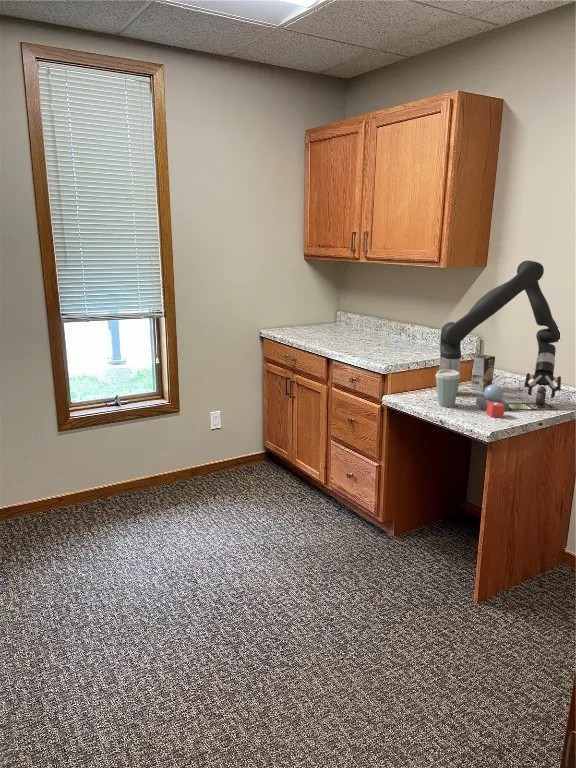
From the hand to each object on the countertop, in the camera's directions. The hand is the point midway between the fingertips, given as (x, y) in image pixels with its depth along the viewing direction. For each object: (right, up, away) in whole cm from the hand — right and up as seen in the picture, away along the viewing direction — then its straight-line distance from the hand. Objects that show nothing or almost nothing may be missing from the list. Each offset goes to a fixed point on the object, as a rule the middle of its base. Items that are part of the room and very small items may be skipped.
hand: (541, 396), depth 242 cm
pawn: (0, -5, +2) cm, 5 cm away
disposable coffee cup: (-40, -4, +3) cm, 41 cm away
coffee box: (-15, +3, +32) cm, 35 cm away
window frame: (-5, -5, +2) cm, 7 cm away
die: (-24, -8, -12) cm, 28 cm away
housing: (-21, -5, 0) cm, 22 cm away
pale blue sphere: (-21, -3, 0) cm, 21 cm away
